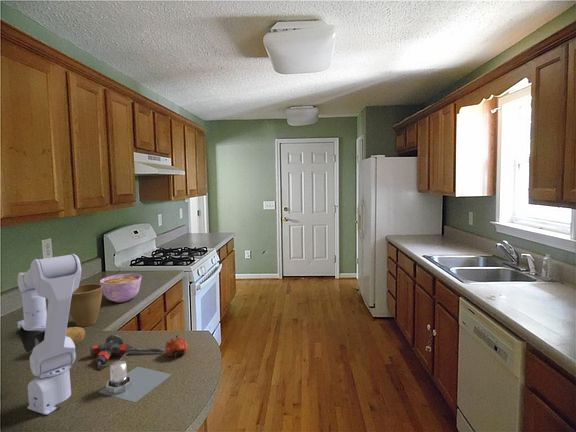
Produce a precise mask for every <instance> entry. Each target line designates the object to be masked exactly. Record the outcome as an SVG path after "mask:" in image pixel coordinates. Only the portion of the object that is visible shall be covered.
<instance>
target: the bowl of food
mask: <svg viewBox="0 0 576 432" xmlns="http://www.w3.org/2000/svg"><path fill="white" fill-rule="evenodd" d="M142 277H143V276H142V275H141V274H139V273H123V274H121V273H119V274H115V275H110V276H107V277H104V278H102V279H100V280H99V284H101V285H102V286H103V288H102V293H103V294H104V296H105V298H106V299H107V300H109V301H112V302H114V303H126V302H129V301H130V300H131V299H134V297H136V296H137V295H138V293H139V291H140V287H141V283H142Z"/></svg>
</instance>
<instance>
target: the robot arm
mask: <svg viewBox="0 0 576 432" xmlns="http://www.w3.org/2000/svg"><path fill="white" fill-rule="evenodd" d="M81 265H82V264H81V260H80V258H79V256H78V255H76V254H75V253H70V254H67V255H60V256H53V257H47V258H46V257H45V258H41V259H38V258H33V260H32V261H31V263H30V268H29V269H28V270H26V272H25V271H24V272H18V274H17V285H18V289H19V291H20V293H21V300H22V311H23V314H22V315H23V319H22V320H19V321H17V328H18V329H19V330H16V331H15V335H16V336H17V337H18V338H19V339H20V341H21V343H22V346H23V348H24V350H25V352H26V353H30V352H31V354H30V356H29V366H30V371H31V373H32V375H34V376H36V377H35V378H34V379H33V380H31V381H29V383H28V384H27V397H28V406H27V409H28V410H30V411H33V412H37V413H38V414H42V415H45V416H46V415H50V414H51V413H52V412H54V411H56V410H57V409H59V408H60V406H59V405H58V404H61V403H63V402H64V401H66V400H68V399H69V398H70V397H71V396H72V385H71V372H70V371H71V370H70V369H71V368H72V364H74V363H75V361H76V359H77V358H76V356H77V354H76V345H74V342H73V341H72V339H71V338H70V337H67V336H66V330H67V328H68V322H69V315H70V312H69V310H70V303H71V297H72V293H73V292H74V291H75V290H76V289H77V288H78V287H79V285H80V283H81V277H82V266H81ZM46 299H47V300H46ZM46 301H48V303H47V302H46ZM37 331H38V332H41V333H40V334H37ZM36 340H37V342H38V344H37V345H36Z"/></svg>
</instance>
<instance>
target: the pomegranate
mask: <svg viewBox="0 0 576 432" xmlns="http://www.w3.org/2000/svg"><path fill="white" fill-rule="evenodd" d="M164 349H165V351H164V352H165V353H166V355H167V356H168V357H174V359H175V360H176V359H177V356H183V355H185V354H186V353H187V350H188V343H187V341H186V339H184V338H183V337H179V335H176V336H175V337H174V338H171V339H169V340H168V341H167V342H166V344H165V346H164Z"/></svg>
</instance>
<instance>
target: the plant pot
mask: <svg viewBox="0 0 576 432" xmlns="http://www.w3.org/2000/svg"><path fill="white" fill-rule="evenodd" d="M102 288H103V286H102V285H101V284H100V283H87V284H79V287H78V288H77V289H76V290H75V291H74V292H73V293H72V297H71V303H70V310H69V315H70V317H71V318H72V321H73V322H74V324H75V325H76V327H82V328H84V327H89V326H92V325H94V324H96V323H97V320H98V316H99V312H100V310H101V309H100V308H101V304H102V297H103V290H102Z"/></svg>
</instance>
